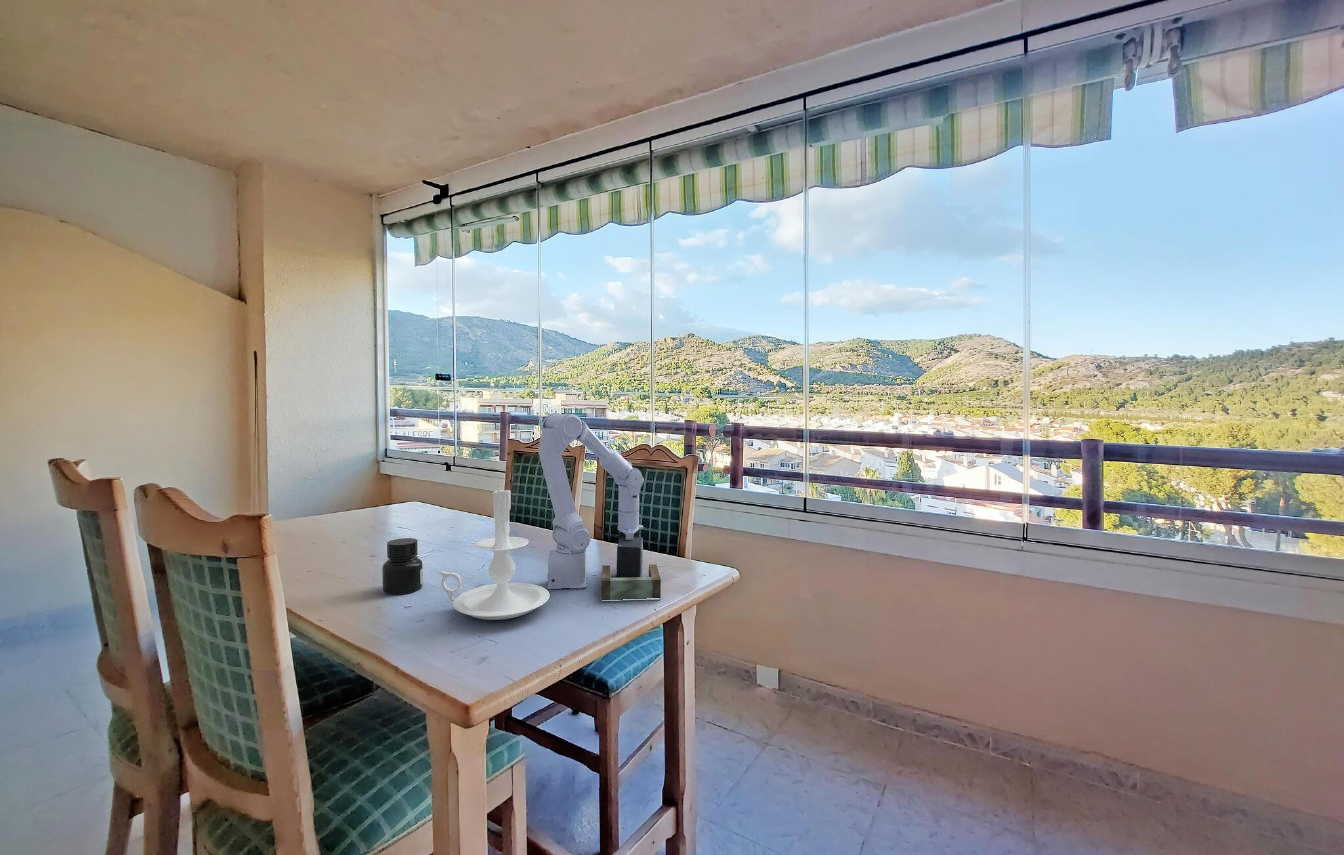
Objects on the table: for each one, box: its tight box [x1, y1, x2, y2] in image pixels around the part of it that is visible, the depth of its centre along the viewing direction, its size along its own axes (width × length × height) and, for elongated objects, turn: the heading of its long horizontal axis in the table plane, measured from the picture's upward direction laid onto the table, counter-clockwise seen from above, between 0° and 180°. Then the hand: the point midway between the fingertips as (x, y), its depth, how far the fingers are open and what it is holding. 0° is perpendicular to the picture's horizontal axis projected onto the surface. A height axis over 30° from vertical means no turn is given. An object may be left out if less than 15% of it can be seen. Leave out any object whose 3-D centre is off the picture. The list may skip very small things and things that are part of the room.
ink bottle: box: [381, 537, 424, 595], centre depth 136 cm, size 10×9×12 cm
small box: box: [615, 536, 644, 578], centre depth 145 cm, size 11×6×10 cm, turn 0°
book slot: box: [601, 564, 662, 601], centre depth 136 cm, size 14×12×5 cm
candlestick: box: [438, 487, 550, 621], centre depth 122 cm, size 21×25×28 cm
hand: (628, 558), depth 153 cm, fingers closed
